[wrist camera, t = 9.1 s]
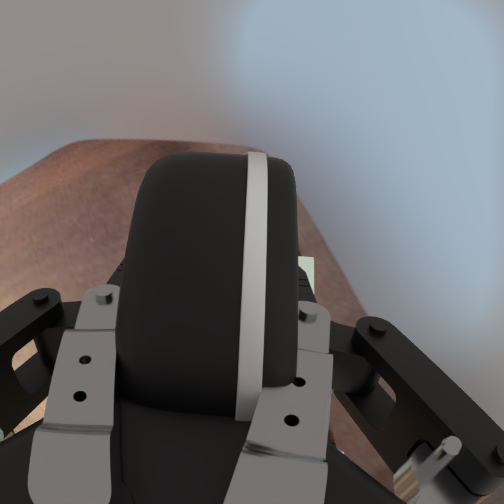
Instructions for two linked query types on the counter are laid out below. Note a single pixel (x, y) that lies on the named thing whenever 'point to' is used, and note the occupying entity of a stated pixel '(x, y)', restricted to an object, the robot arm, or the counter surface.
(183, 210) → the battery charger
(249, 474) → the robot arm
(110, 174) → the counter surface
